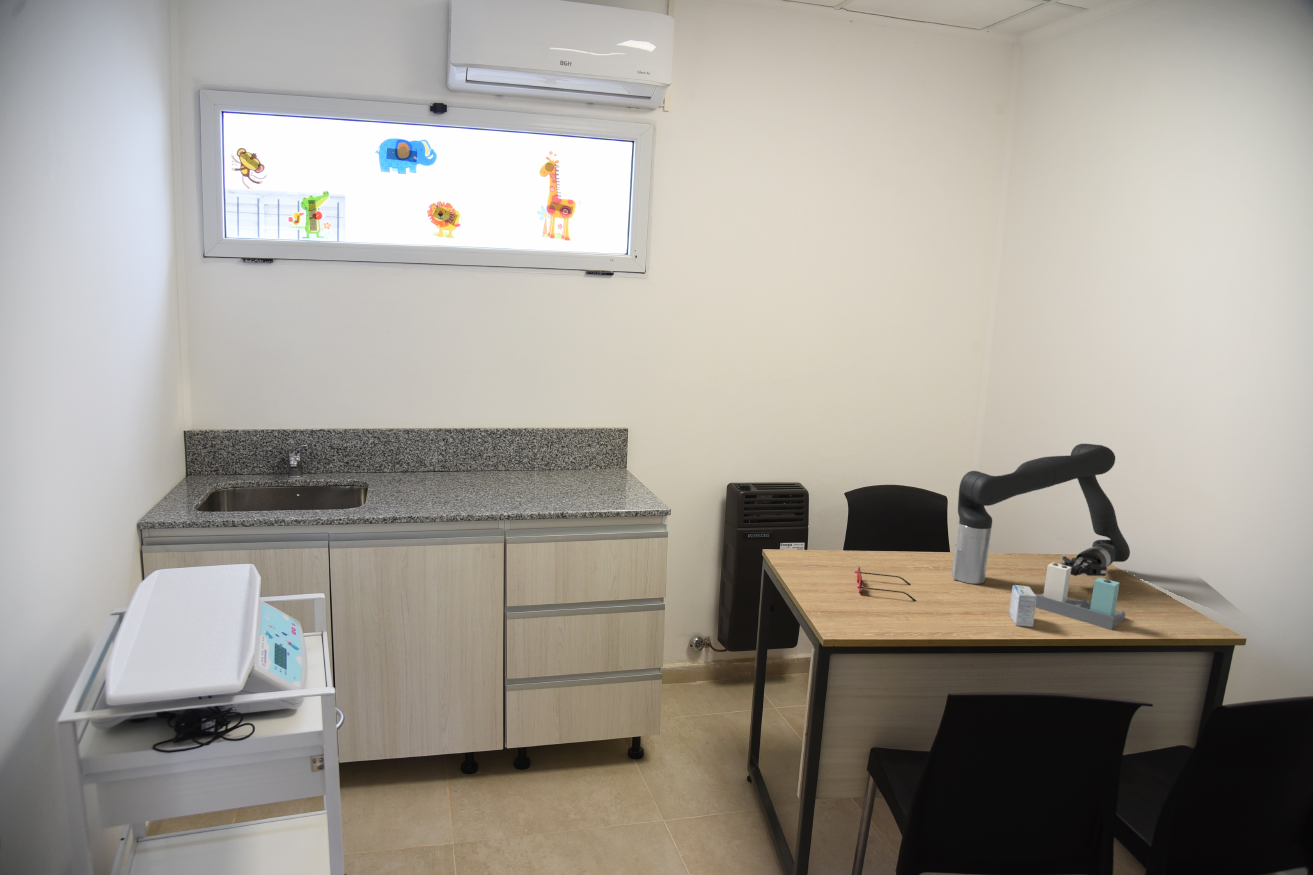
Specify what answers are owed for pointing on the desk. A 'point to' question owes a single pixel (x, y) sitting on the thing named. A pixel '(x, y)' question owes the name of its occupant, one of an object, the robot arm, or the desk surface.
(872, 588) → the glasses
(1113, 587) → the teal block
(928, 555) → the desk surface
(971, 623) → the desk surface
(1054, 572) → the white battery block
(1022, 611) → the medicine box
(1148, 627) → the desk surface
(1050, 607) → the gray divided tray
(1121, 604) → the desk surface
